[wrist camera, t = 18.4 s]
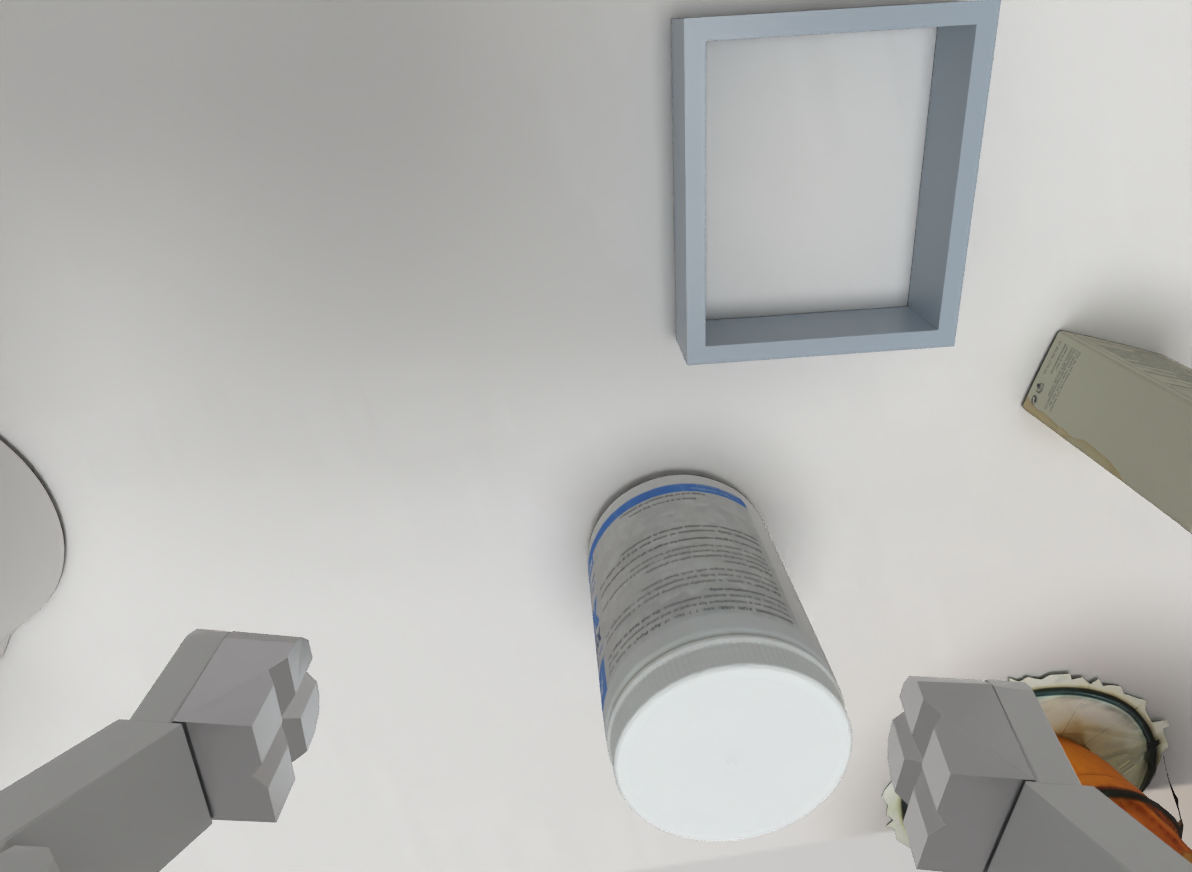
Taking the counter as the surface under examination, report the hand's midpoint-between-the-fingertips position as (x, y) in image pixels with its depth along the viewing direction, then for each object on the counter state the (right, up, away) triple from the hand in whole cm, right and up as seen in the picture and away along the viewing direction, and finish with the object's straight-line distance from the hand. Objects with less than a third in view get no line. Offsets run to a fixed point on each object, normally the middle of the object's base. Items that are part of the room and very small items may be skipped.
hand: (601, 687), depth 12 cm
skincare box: (+25, +6, +31) cm, 40 cm away
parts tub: (+9, +15, +26) cm, 31 cm away
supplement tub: (+4, -2, +34) cm, 34 cm away
